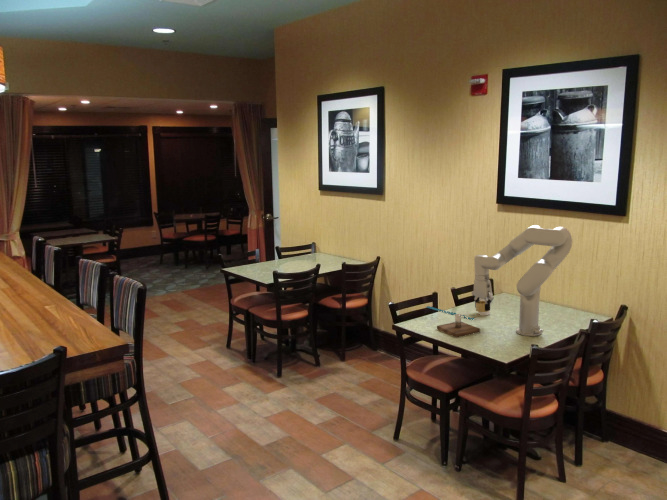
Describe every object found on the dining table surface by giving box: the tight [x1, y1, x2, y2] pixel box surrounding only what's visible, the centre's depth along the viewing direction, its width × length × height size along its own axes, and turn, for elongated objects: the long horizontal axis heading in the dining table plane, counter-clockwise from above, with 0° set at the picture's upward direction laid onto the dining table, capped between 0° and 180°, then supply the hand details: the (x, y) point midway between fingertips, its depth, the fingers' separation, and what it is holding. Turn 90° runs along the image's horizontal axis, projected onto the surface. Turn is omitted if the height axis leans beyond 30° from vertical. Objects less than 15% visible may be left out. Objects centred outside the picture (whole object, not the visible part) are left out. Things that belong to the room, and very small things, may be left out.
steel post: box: [454, 313, 462, 328], centre depth 290 cm, size 3×3×7 cm
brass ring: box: [475, 301, 488, 312], centre depth 296 cm, size 7×7×4 cm
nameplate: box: [425, 305, 475, 321], centre depth 323 cm, size 37×1×5 cm
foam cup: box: [477, 292, 493, 316], centre depth 318 cm, size 10×9×13 cm
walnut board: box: [436, 321, 481, 338], centre depth 291 cm, size 16×16×2 cm
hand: (482, 308), depth 296 cm, fingers closed on brass ring, 7 cm apart
